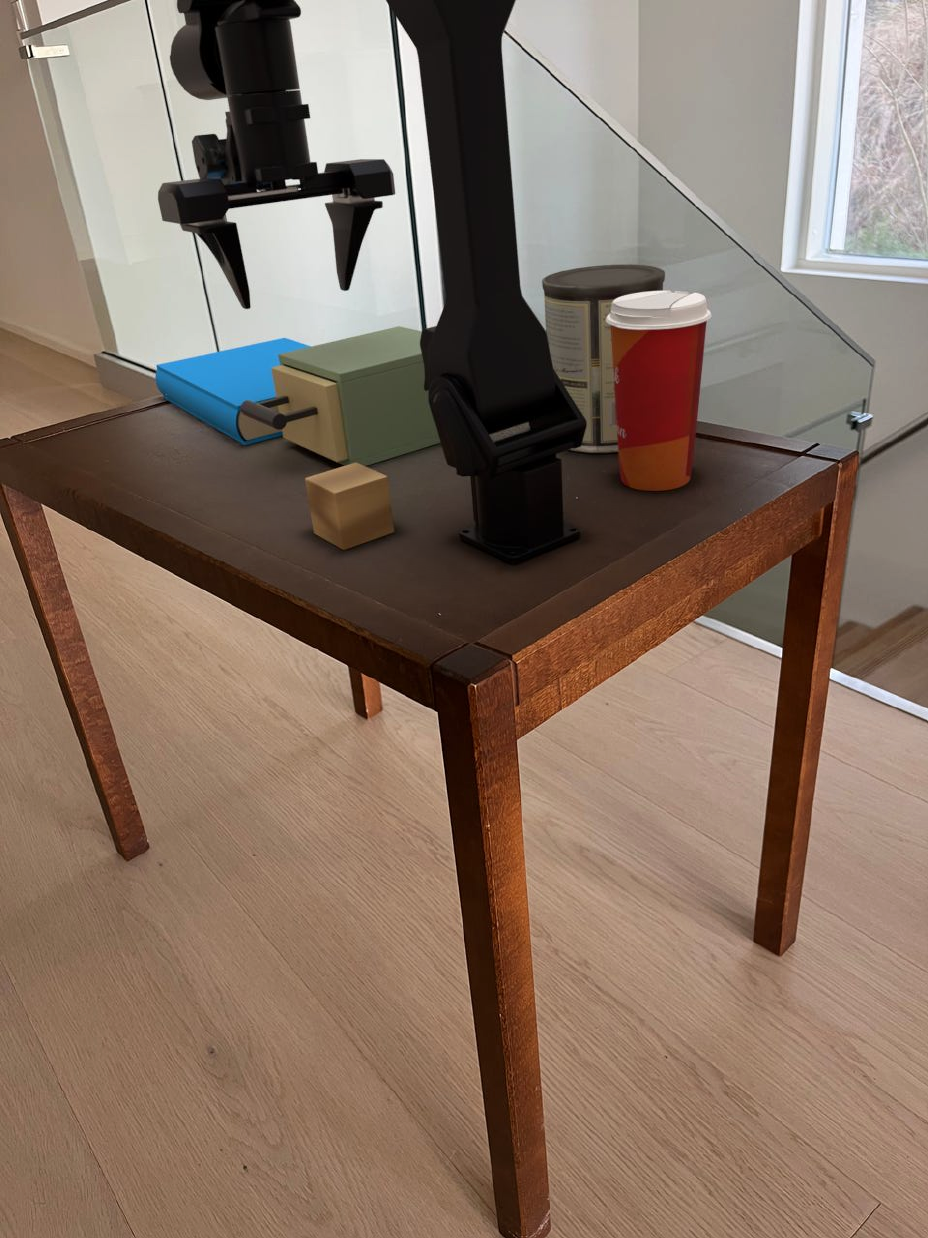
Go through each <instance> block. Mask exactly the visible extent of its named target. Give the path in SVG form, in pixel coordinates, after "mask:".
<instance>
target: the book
mask: <svg viewBox="0 0 928 1238" xmlns="http://www.w3.org/2000/svg"><path fill="white" fill-rule="evenodd" d="M307 347H312V345H308V344H305V343H302V342H299V341H296V340H294V339H290V338H288V337H282V338H281V337H280V338H276V339H272V340H266V341H262V342H257V343H253V344H249V345H244V346H239V347H234V348H230V349H224V350H219V351H215V352H210V353H206V354H201V355H197V356H192V357H188V358H183V359H178V360H174V361H168V362H164V363H163V362H162V363H159V364H155V366H156V371H155V384H156V388H157V389H158V391H159V392H160V394H162V396H163V399H164V400H165V401H168V402H169V403H171V404H173V405H174V406H177V407H178V408H180V409H182V410H183V411H185V412H187V413H189V414H190V415H192V416H193V417H196V418H197V419H198V420H201V421H202V422H204V423H205V424H207V425H209V426H211V427H213V428H214V429H216V430H218V431H219V432H221V433H223V434H225V435H227V436H228V437H230V438H231V439H233V440H235V441H237V442H238V443H240V444H242V445H243V446H248V445H251V444H256V443H260V442H263V441H266V440H267V441H268V440H270V439H274V438H279V437H283V432H282V429H281V430H277V429H275V428H273V427H270V426H268V425H266V424H264V423H261V422H259V421H257V420H255V419H252V418H250V417H248V416H246V415H244V414H243V413H242V412H241V405H242V403H243V402H244V401H246V400H250V401H252V402H255V403H259V402H262V401H266V400H270V399H274V398H276V393H275V387H274V381H273V376H272V370H271V368H272V367H276V366H280V362H279V357H278V354H281V353H286V352H290V351H294V350H299V349H303V348H307ZM166 394H167V395H166ZM269 409H272V410H274V411H277V412H279V409H278V406H275V407H271V408H269Z"/></svg>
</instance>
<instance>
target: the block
mask: <svg viewBox="0 0 928 1238" xmlns="http://www.w3.org/2000/svg"><path fill="white" fill-rule="evenodd" d="M304 482H305V488H306V494H307V499H308V505H309V512H310V518H311V523H312V529H313V533H314V535H316V536H318V537H320V538H322V539H323V540H324V541H326V542H328V543H330V544H331V545H333V546H335V547H337V548H338V549H340V550H341V551H345V550H348V549H351V548H354V547H357V546H359V545H362V544H365V543H368V542H371V541H374V540H376V539H379V538H382V537H384V536H388V535H390V534H394V533H395V525H394V518H393V517H394V516H393V510H392V502H391V495H390V494H391V493H390V485H389V478H388V476H387V475H386V474H383V473H381V472H379V471H377V470H375V469H372V468H370V467H368V466H363V465H361V464H359V463H353V464H349V465H346V466H344V465H342V466H340V467H337V468H334V469H331V470H327V471H324V472H320V473H317V474H314V475H311V476H307V477H305V478H304Z"/></svg>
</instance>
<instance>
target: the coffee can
mask: <svg viewBox="0 0 928 1238" xmlns="http://www.w3.org/2000/svg"><path fill="white" fill-rule="evenodd" d="M665 279H666V272H665V270H664V269H662V268H660V267H657V266H652V265H647V264H603V265H591V266H583V267H577V268H571V269H567V270H566V269H565V270H561V271H560V270H559V271H557V272H554V273H551V274H548V275H547V276H545V277H543V278H542V279H541V285H542V289H543V296H544V297H543V298H544V317H545V318H544V320H545V323H544V324H545V330H546V333H547V337H548V342H549V348H550V353H551V359H552V364H553V369H554V371H555V372H556V374H557V375H558V377H559V378H560V380H561V382H562V383H563V385H564V386H565V388H566V389H567V391H568V393H569V394H570V396H571V397H572V399H573V400H574V402H575V404H576V405H577V407H578V408H579V410H580V411H581V413H582V415H583V416H584V418H585V419H586V422H587V426H586V430H585V434H584V438H583V441H582V445H581V447H578V448H575V449H573V448H572V449H569V450H568V451H571V452H578V453H586V454H587V453H588V454H613V453H618V439H617V424H616V408H615V392H614V376H613V359H612V343H611V327H610V324H608V323H607V322H606V318H607V316H608V315H609V314H610V312H611V305H612V302H613V301H614V300H615V299H616V298H618V297H621V296H625V295H629V294H634V293H640V292H649V291H664V282H665Z"/></svg>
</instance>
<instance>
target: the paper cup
mask: <svg viewBox="0 0 928 1238" xmlns="http://www.w3.org/2000/svg"><path fill="white" fill-rule="evenodd" d="M711 318H712V313H711V311H710V309H708V304H707V298H706V296H705V295H704V294H701V293H699V292H693V293H691V292H689V291H681V290H680V291H679V290H674V292H672V290H663V291H649V292H640V293H634V294H629V295H625V296H621V297H618V298H616V299H615V300H614V301H613V302H612V305H611V312H610V314H609V315H608V316H607V318H606V322H607V323H608V324H610V327H611V343H612V359H613V376H614V392H615V408H616V424H617V439H618V452H617V453H618V463H619V465H618V466H619V474H620V480H621V483H622V484H624V485H625V486H627V487H628V488H631V489H634V490H638V491H645V492H648V491H649V492H661V491H670V490H674V489H678V488H681V487H683V486H685V485H688V483H689V482H690V481H691V478H692V471H693V464H694V463H693V462H694V455H695V445H696V444H695V443H696V434H697V425H698V417H699V415H698V414H699V405H700V397H701V396H700V394H701V383H702V374H703V373H702V372H703V365H704V363H703V362H704V354H705V353H704V352H705V341H706V333H707V332H706V331H707V321H709V320H711Z"/></svg>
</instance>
